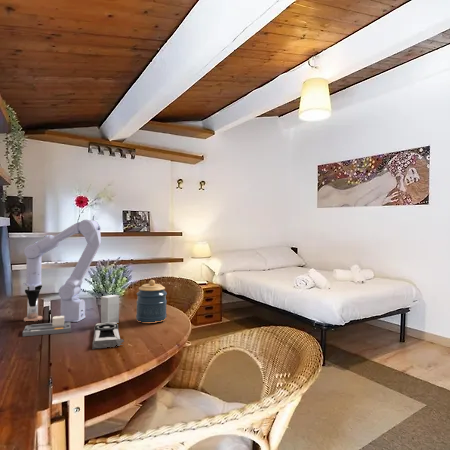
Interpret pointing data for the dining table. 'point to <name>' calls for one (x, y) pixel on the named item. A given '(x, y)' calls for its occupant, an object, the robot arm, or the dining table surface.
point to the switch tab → (58, 321)
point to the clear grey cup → (32, 311)
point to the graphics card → (107, 328)
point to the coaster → (33, 319)
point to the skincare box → (110, 309)
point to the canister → (151, 302)
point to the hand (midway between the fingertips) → (33, 304)
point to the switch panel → (46, 329)
